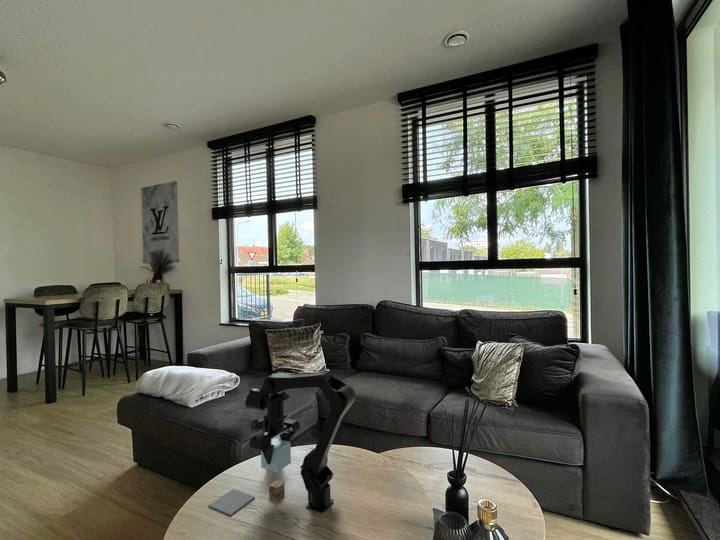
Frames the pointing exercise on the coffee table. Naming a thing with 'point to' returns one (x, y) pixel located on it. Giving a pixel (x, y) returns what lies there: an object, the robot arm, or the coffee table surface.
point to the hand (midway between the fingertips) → (276, 459)
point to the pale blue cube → (278, 455)
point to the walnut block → (276, 489)
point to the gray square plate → (231, 502)
